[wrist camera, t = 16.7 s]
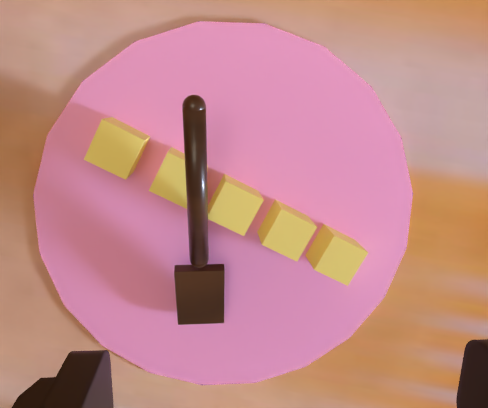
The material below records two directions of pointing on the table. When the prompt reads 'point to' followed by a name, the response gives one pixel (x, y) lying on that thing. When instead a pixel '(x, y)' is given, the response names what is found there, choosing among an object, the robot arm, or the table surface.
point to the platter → (224, 201)
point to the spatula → (198, 229)
